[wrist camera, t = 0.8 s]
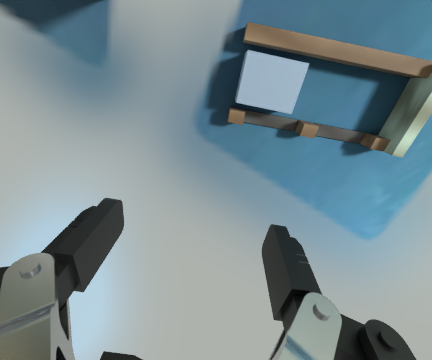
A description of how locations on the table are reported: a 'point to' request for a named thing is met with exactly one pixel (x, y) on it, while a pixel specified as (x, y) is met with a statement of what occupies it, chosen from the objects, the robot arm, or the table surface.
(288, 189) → the table surface
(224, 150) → the table surface
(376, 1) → the table surface
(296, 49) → the lane
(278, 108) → the brick
